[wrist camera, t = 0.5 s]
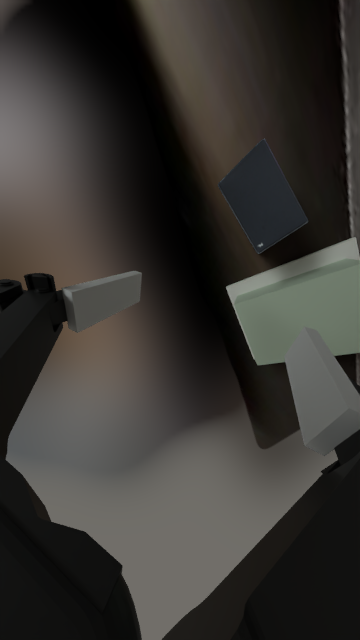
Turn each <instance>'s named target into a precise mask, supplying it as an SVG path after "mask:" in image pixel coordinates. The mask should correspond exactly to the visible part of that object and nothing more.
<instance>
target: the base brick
mask: <svg viewBox="0 0 360 640" xmlns="http://www.w3.org/2000/svg"><path fill="white" fill-rule="evenodd" d="M234 306H235V309H236V311H237V314H238V317H239V319H240V322H241V324H242V327H243V330H244V332H245V335H246V337H247V340H248V342H249V345H250V348H251V350H252V353H253V355H254V358H255V361H256V363H257V365H265V364H273V363H281V362H285V358H284V356H285V354H286V353H287V351H288V350H289V348H290V347H291V345H292V344H293V342H294V341H295V339H296V338H297V337H298V335H299V334H300V332H301V331H302V329H303V328H304V326H305V327H308V328H311V329H314V330H317V331H318V333H319V334H320V336H321V337H322V339H323V340H324V342H325V343H326V345H327V346H328V348H329V349H330V351H331V352H332V354H333V355H334V356H337V355H345V354H353V353H360V260H354V259H347V258H345V259H343V260H340V261H337V262H334V263H331V264H328V265H325V266H322V267H319V268H316V269H314V270H311V271H308V272H305V273H302V274H299V275H296V276H293V277H290V278H287V279H284V280H282V281H279V282H276V283H273V284H270V285H267V286H264V287H261V288H258V289H255V290H253V291H250V292H247V293H244V294H241V295H238V296H237V298H236V300H235V303H234Z"/></svg>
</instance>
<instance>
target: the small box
mask: <svg viewBox="0 0 360 640" xmlns="http://www.w3.org/2000/svg"><path fill="white" fill-rule="evenodd" d="M218 187H219V189H220V190H221V192H222V194H223V196H224V197H225V199H226V201H227V203H228V204H229V206H230V208H231V210H232V211H233V213H234V215H235V217H236V218H237V220H238V222H239V224H240V225H241V227H242V229H243V230H244V232H245V234H246V236H247V237H248V239H249V241H250V242H251V244H252V246H253V247H254V249H255V251H256V252H257V253H258V254H260V253H262V252H263V251H265V250H266V249H268V248H269V247H271V246H272V245H274V244H275V243H277V242H278V241H280V240H282V239H283V238H285V237H286V236H288V235H289V234H291V233H292V232H294V231H296V230H297V229H299V228H300V227H302V226H303V225H305V224H306V223H307V222H308V219H307V217H306V215H305V213H304V211H303V210H302V208H301V206H300V204H299V202H298V200H297V198H296V197H295V195H294V193H293V191H292V189H291V187H290V185H289V184H288V182H287V180H286V178H285V176H284V174H283V172H282V170H281V169H280V167H279V165H278V163H277V161H276V159H275V157H274V155H273V153H272V151H271V150H270V148H269V146H268V144H267V142H266V140H265V139H263V140H261V141H260V142H259V143H258V144H257V145H256V146H255V147H254V148H253V149H252V150H251V151H250V152H249V153H248V154H247V155H246V156H245V157H244V158H243V159H242V160H241V161H240V162H239V163H238V164H237V165H236V166H235V167H234V168H233V169H232V170H231V171H230V172H229V173H228V174H227V175H226V176H225V177H224V178H223V179H222V180H221V181H220V182H219V184H218Z"/></svg>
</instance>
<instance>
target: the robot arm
mask: <svg viewBox="0 0 360 640" xmlns="http://www.w3.org/2000/svg"><path fill="white" fill-rule="evenodd" d="M141 276H142V273H140V272H137V271H131V272H127V273H123V274H119V275H115V276H110V277H106V278H102V279H98V280H94V281H89V282H85V283H81V284H77V285H73V286H69V287H65V288H62V290H60V291H56V288H55V282H54V277H53V276H52V275H49V274H44V273H34V274H27V275H25V276H24V278H25V281H26V285H27V288H28V290H27V291H26V290H23V289H22V285H21V283H20V282H19V281H15V280H9V279H3V280H0V640H142V638H141V632H140V626H139V622H138V618H137V614H136V610H135V606H134V602H133V600H132V597H131V594H130V591H129V588H128V586H127V584H126V582H125V580H124V578H123V576H122V574H121V573H122V565H121V564H120V563H119V562H118V561H117V560H116V559H115V558H114V557H112V556H111V555H110V554H109V553H108V552H107V551H106V550H105V549H103V548H102V547H101V546H100V545H99V544H98V543H97V542H96V541H95V540H94V539H92V538H91V537H90V536H89V535H88V534H87V533H86V532H84V531H80V530H77V529H74V528H70V527H67V526H64V525H60V524H57V523H53V522H51V520H50V517H49V515H48V512H47V510H46V507H45V505H44V504H43V503H42V501H41V500H40V499H39V497H38V496H37V495H36V493H35V492H34V490H33V489H32V488H31V486H30V485H29V484H28V482H27V481H26V479H25V478H24V477H23V475H22V474H21V473H20V472H18V471H17V470H16V469H15V468H14V467H13V466H12V465H11V464H10V463H8V462H7V461H6V460H5V459H6V454H7V443H8V437H9V434H10V432H11V430H12V428H13V426H14V424H15V422H16V420H17V418H18V416H19V414H20V412H21V410H22V408H23V406H24V404H25V402H26V400H27V398H28V396H29V394H30V392H31V390H32V388H33V386H34V384H35V382H36V380H37V378H38V376H39V374H40V372H41V370H42V368H43V366H44V364H45V362H46V360H47V358H48V356H49V354H50V352H51V350H52V348H53V346H54V344H55V342H56V340H57V338H58V336H59V334H60V333H61V331H62V328H63V324H62V322H65V321H68V327H69V329H71V330H73V331H75V332H77V333H78V332H80V331H82V330H84V329H86V328H88V327H90V326H92V325H94V324H96V323H98V322H100V321H102V320H104V319H106V318H108V317H110V316H112V315H114V314H116V313H118V312H119V311H122V310H124V309H125V308H127V307H129V306H131V305H133V304H135V303H137V302H139V301H140V290H141ZM284 358H285V362H286V367H287V371H288V375H289V380H290V384H291V389H292V393H293V398H294V402H295V406H296V411H297V415H298V420H299V424H300V428H301V432H302V437H303V442H304V446H305V447H308V448H309V449H312V450H314V451H316V452H318V453H320V454H322V455H324V456H325V455H327V454H328V453H329V452H331V451H332V450H334V449H335V451H336V454H337V457H338V460H337V461H336V462H334V463H333V464H331V465H330V466H328V467H327V468H325V469H324V470H322V471H321V472H322V473H323V474H322V475H321V477H320V478H319V479H318V480H317V481H316V482H315V483H314V484H313V485H312V486H311V487H310V488H309V489H308V490H307V491H306V492H305V494H304V495H303V496H302V497H301V498H300V499H299V500H298V501H297V502H296V503H295V504H294V505H293V507H291V509H290V510H289V511H288V512H287V513H286V514H285V515H284V516H283V517H282V518H281V519H280V520H279V521H278V522H277V523H276V525H275V526H274V527H273V528H272V529H271V530H270V531H269V532H268V533H267V534H266V535H265V536H264V537H263V538H262V539H261V540H260V542H259V543H258V544H257V545H256V546H255V547H254V548H253V549H252V550H251V551H250V552H249V553H248V554H247V555H246V556H245V558H244V559H243V560H242V561H241V562H240V563H239V564H238V565H237V566H236V567H235V568H234V569H233V570H232V571H231V572H230V574H229V575H228V576H227V577H226V578H225V579H224V580H223V581H222V582H221V583H220V584H219V585H218V586H217V587H216V588H215V590H214V591H213V592H212V593H211V594H210V595H209V596H208V597H207V598H206V599H205V600H204V601H203V602H202V603H201V604H199V605H198V606H197V607H196V608H194V609H193V610H191V611H190V612H189V613H188V614H187V615H185V616H184V617H183V618H182V619H181V620H180V621H179V622H178V623H177V624H176V625H175V626H174V627H173V628H172V629H171V630H170V631H169V632H168V633H167V634H166V635H165V636H164V638H163V639H162V640H360V386H359V385H357V384H356V383H355V382H354V381H353V380H352V379H350V378H348V377H347V375H346V374H345V372H344V371H343V369H342V368H341V366H340V365H339V363H338V362H337V360H336V358H335V357H334V355H333V354H332V352H331V351H330V349H329V348H328V346H327V345H326V343H325V342H324V340H323V339H322V337H321V336H320V334H319V333H318V331H317V330H314V329H311V328H308V327H305V326H304V328H303V329H302V331H301V332H300V334H299V335H298V337H297V338H296V339H295V341H294V342H293V344H292V345H291V347H290V348H289V350H288V351H287V353H286V354H285V356H284Z"/></svg>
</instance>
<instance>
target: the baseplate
mask: <svg viewBox="0 0 360 640" xmlns="http://www.w3.org/2000/svg"><path fill="white" fill-rule="evenodd" d="M345 258H347V259H354V260H360V256H359V251H358V246H357V241H356V237H355V238H350V239H348V240H345V241H343V242H340V243H337V244H335V245H332V246H330V247H327V248H325V249H322V250H319V251H317V252H314V253H312V254H309V255H306V256H304V257H301V258H299V259H296V260H293V261H291V262H288V263H286V264H283V265H280V266H278V267H275V268H273V269H270V270H268V271H265V272H262V273H260V274H257V275H255V276H252V277H249V278H247V279H244V280H242V281H239V282H236V283H234V284H231V285H229V286H226V289H227V291H228V294H229V297H230V299H231V302H232V304H233V307H234V309H235V306H234V303H235V300H236V298H237V296H238V295H241V294H244V293H247V292H250V291H253V290H255V289H258V288H261V287H264V286H267V285H270V284H273V283H276V282H279V281H282V280H284V279H287V278H290V277H293V276H296V275H299V274H302V273H305V272H308V271H311V270H314V269H316V268H319V267H322V266H325V265H328V264H331V263H334V262H337V261H340V260H343V259H345ZM235 312H236V315H237V317H238V314H237V311H236V309H235ZM238 320H239V322H240V319H239V317H238ZM240 325H241V327H242V324H241V322H240ZM242 330H243V327H242ZM243 333H244V335H245V332H244V330H243ZM245 338H246V340H247V337H246V335H245ZM247 343H248V345H249V342H248V340H247ZM249 348H250V345H249ZM250 351H251V353H252V350H251V348H250ZM252 356H253V358H254V355H253V353H252ZM254 359H255V358H254Z"/></svg>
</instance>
